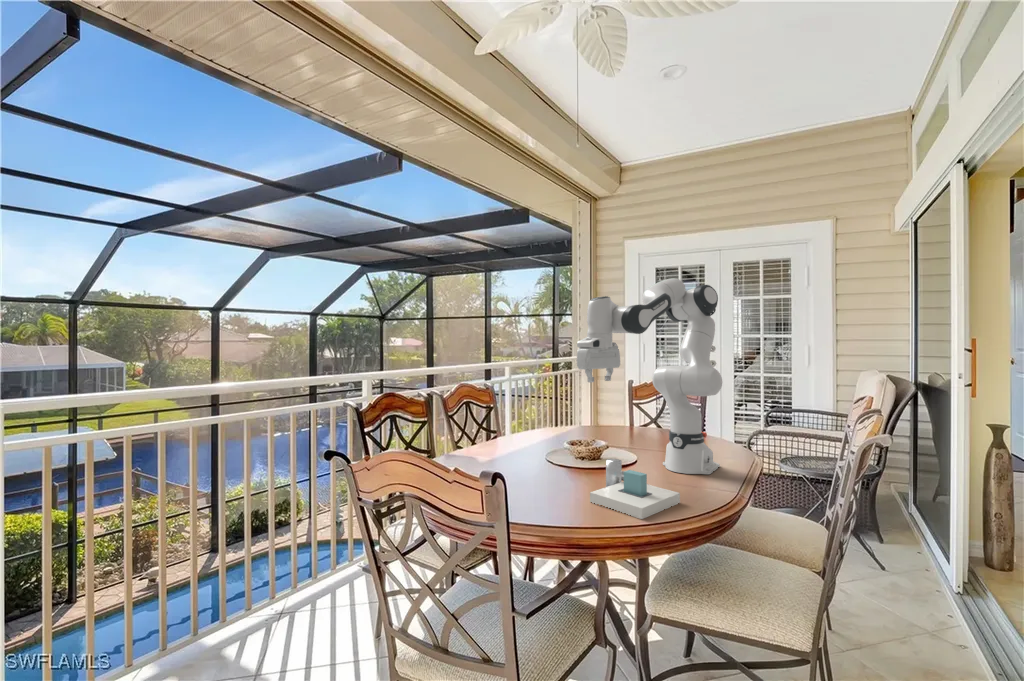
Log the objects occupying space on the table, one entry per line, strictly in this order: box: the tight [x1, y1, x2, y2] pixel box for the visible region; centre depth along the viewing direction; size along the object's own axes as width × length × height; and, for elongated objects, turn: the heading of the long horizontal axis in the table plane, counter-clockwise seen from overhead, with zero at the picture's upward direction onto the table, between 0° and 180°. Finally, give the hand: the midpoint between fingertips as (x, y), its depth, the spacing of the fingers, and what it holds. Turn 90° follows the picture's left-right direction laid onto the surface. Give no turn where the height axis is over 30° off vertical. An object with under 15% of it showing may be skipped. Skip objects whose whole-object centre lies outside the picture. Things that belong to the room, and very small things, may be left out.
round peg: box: [605, 458, 623, 487], centre depth 158 cm, size 5×5×9 cm
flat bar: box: [623, 469, 648, 496], centre depth 144 cm, size 3×6×9 cm, turn 42°
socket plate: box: [589, 481, 681, 520], centre depth 144 cm, size 20×18×3 cm
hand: (599, 381), depth 169 cm, fingers open, 8 cm apart
